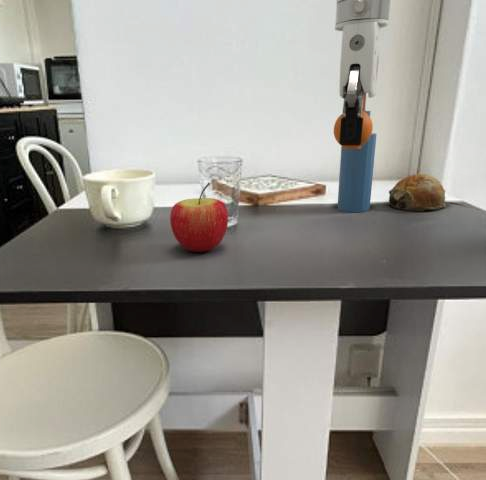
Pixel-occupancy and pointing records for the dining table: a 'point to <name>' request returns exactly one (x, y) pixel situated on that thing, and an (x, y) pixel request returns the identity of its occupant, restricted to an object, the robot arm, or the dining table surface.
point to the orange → (366, 131)
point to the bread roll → (418, 193)
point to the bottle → (356, 176)
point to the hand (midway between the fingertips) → (352, 142)
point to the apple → (199, 223)
